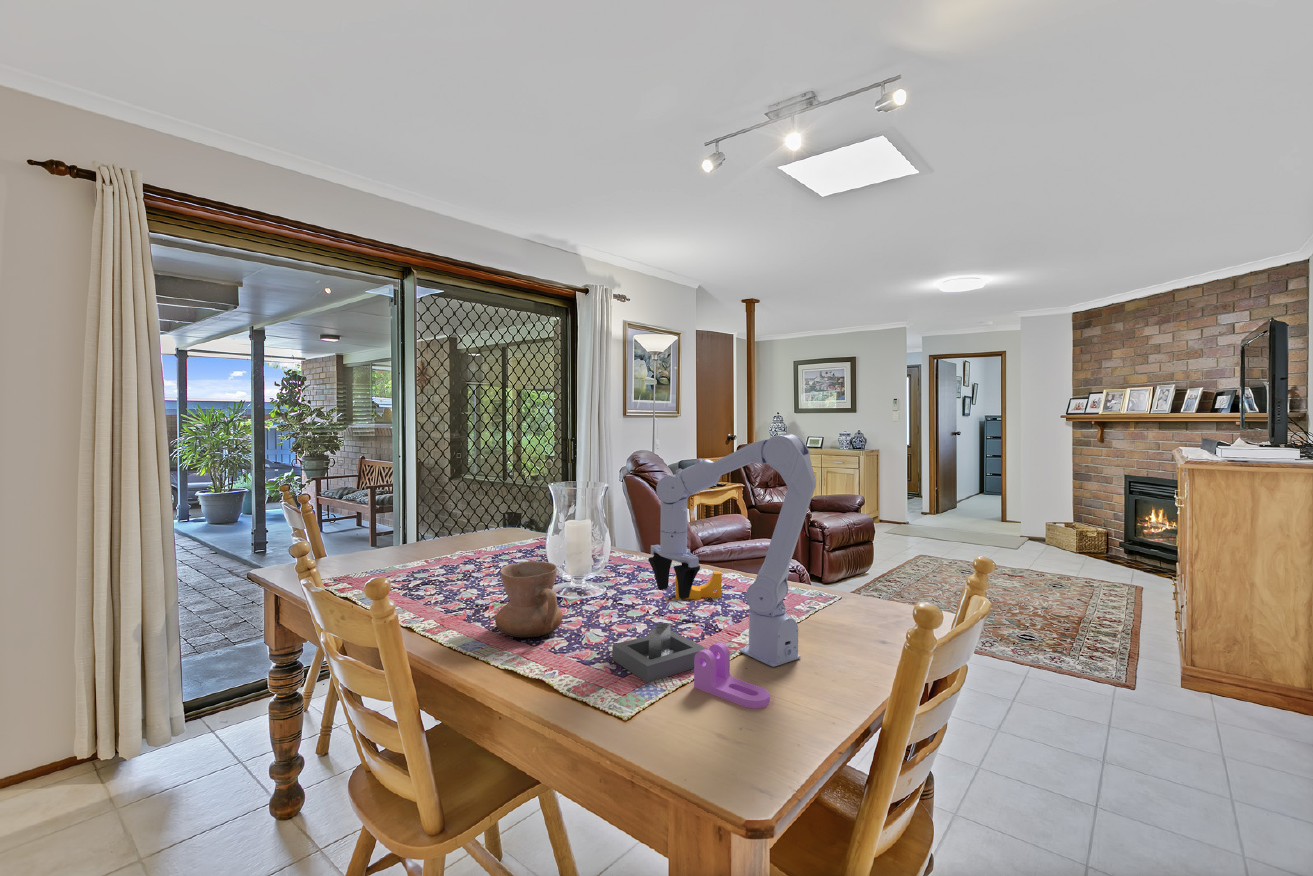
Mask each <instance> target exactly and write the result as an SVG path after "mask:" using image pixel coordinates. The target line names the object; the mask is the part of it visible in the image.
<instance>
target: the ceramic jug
mask: <svg viewBox="0 0 1313 876" xmlns="http://www.w3.org/2000/svg"><path fill="white" fill-rule="evenodd" d="M557 571H558V566H557V565H556V564H554V563H552V562H549V561H537V560H533V561H532V560H531V561H528V560H527V561H520V562H518V563H515V562H514V563H513V562H512V563H510V564H507V565H504V566H503V567H501V569H500V579H501V582H502V585H503V588H504V591H505V593H506V596H507V598H508V600H509V602H508V603H506V604H505V605H503V606H502V607H501V608H500V609H499V610H498V611H497V612H496V615H495V617H494V623H495V626H496V628H497V629H498V630H499V631H500V632H501V633H503V634H505V635H507V636H510V637H515V638H536V637H540V636H544V635H547V634H550V633H552V632H553V631H555V630H556V629H557V628H558V627H560V626H561V623H562V621H563V617H564V615H563V612H562V610H561V608H560V606H558V599H557V597H558V596H557V593H556V592H555V591H554V590H553V589H554V586H555V582H556V579H557Z"/></svg>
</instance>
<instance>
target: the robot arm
mask: <svg viewBox="0 0 1313 876" xmlns="http://www.w3.org/2000/svg"><path fill="white" fill-rule="evenodd" d="M753 463H755V464H761V465H764V464H768V465H769V467H771V468H773V470H774V471H776V472H777V473H778V474H779V475H780V476H781V479H782V480H783V481H784V483H785V485H786V487H787V490H786V494H785V496H784V500H783V503H782V505H781V508H780V512H779V515H778V518H777V521H776V524H775V527H774V529H773V534H772V535H771V539H770V542H769V546H768V549H767V551H766V555H765V558H764V562H763V563H762V565H761V567H760V569H759V570H758V571H757V575H756V579H754V581H753V582H752V583H751V584H750V585H749V586H748V588H747V590H746V593H745V598H746V603H747V605H748V606H749V607H748V610H749V611H748V646H744V647H742V648H741V647H740V648H739V652H740V653H742V654H744V655H745V656H749V657H751V658H753V659H754V660H757V661H759V662H761V663H763V664H765V665H768V666H770V667H772V668H776V667H778V666H781V665H784V664H787V663H790V662H793V661H796V660H799V659H801V658H802V656H801V655H800V654H799V625H798V623H797V621H796V620H795V619H794V618H793V617H791V616H789V614H788V613H787V607H786V605H785V603H784V600H785V598H786V597H787V596H788V594H789V583H788V578H789V575H790V566H791V565H790V564H791V561H792V558H793V556H794V553H795V551H796V547H797V543H798V541H799V538H800V536H801V535H800V534H801V531H802V528H803V526H804V523H805V520H806V516H807V513H808V512H809V511H808V510H809V508H810V504H811V501H812V499H813V495H814V493H815V489H816V485H817V480H816V476H815V472H814V467H813V465H812V461H811V451H810V449H809V448H808V447H807V445H806V443H804V441H803V440H802V439H801V437H799V436H797V435H795V434H793V433H792V434H791V433H789V434H784V435H780V434H779V435H778V434H777V435H774V436H772V437H770V438H766V439H760V440H759V441H755V442H752V443H750V444H747V445H746V446H743V447H742V448H739V449H738V450H735V451H734V452H732V453H730V454H727V455H725V456H724V457H721V458H719V459H718V460H716V461H712V460H711V459H709V458H708V459H707V458H706V459H703V458H698V459H695V460H694V464H693V465H690V466H688V467H686V468H684V469H682V468H678V469H676V470H675V474H666V475H664V476H663V477H661V478H660V479H659V481H657V484H656V488H655V489H656V490H655V491H656V494H657V495H656V496H657V497H658V498H659V499H660V533H659V534H660V544H654V545H653V544H651V545H650V555H652V556H651V557H648V559H647V560H648V563H649V565H650V566H651V568H652V571H653V573H654V578H655V581H656V585H657V590H658V591H664V590H668V587H669V582H670V581H669V580H670V572H671V571H670V570H671V568H672V564H673V563H672V562H673V561H674V562H677V563H681V564H679V565H673V570H674V572H675V575H676V576H677V581H678V593H679V598H680V599H679V600H687V599H686V598H689V595H690V591H691V587H692V585H693V584H694V580H695V579H696V576H697V575H698V573H699V571H700V570H701V565H699V562H700V561H699V559H700V558H699V557H698V556H696V555H694V554H693V553H691V549H690V548H688V499H689V497H690V496H694V495H696V494H697V493H700V492H702V491H705V490H707V489H709V488H712V487H714V486H716V485H718V484H719V482H720V479H721V477H722V476H723V475H725V474H728V473H730V472H733V471H735V470H738V469H740V468H743V467H745V466H748V465H749V464H753Z"/></svg>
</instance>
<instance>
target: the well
mask: <svg viewBox="0 0 1313 876" xmlns="http://www.w3.org/2000/svg"><path fill="white" fill-rule="evenodd" d="M703 649H708V648H707V647H705V646H703V645H701V644H699V643H697V642H695V641H693V640H691V639H689V638H688V637H685V636H683V635H681V634H679V633H678V632H675V631H673V630H671V634H670V650H673V651H674V653H672V654H669V655H665V656H662V657H658V658H655V659H651V660H650V659H648V658H647V657H648V655H649V635H646V636H642V637H637V638H634V639H631V640H630V639H629V640H626V641H625V640H624V641H621V642H618V643H615V644H614V643H613V644H612V651H611V652H612V658H611V659H612V661H613V662H615V663H617V664H618V665H620V666H622V667H623V668H624V669H625V670H627V671H629V672H630V673H632V674H633V675H635V676H636V677H638V678H640V679H641V680H642V681H643V682H646V683H651V682H655V681H657V680H661V679H664V678H668V677H670V676H674V675H676V674H680V673H683V672H686V671H691V670H694V657H695V655H696V653H697V652H699V651H701V650H703ZM705 662H706V661H705Z"/></svg>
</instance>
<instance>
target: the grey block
mask: <svg viewBox="0 0 1313 876" xmlns="http://www.w3.org/2000/svg"><path fill="white" fill-rule="evenodd" d="M671 625H672V624H670V623H666V622H665V623H664V622H658V623H657V624H656V625H655V626H654V627H653V628H652V629H651V630H650V631H649V632H648V636H649V655H648V657H647V658H648V659H650V660H651V659H655V658H658V657H662V656H665V655H669V654H672V653H674V651H673V650H670V634H671V631H672V630H671Z"/></svg>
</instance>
